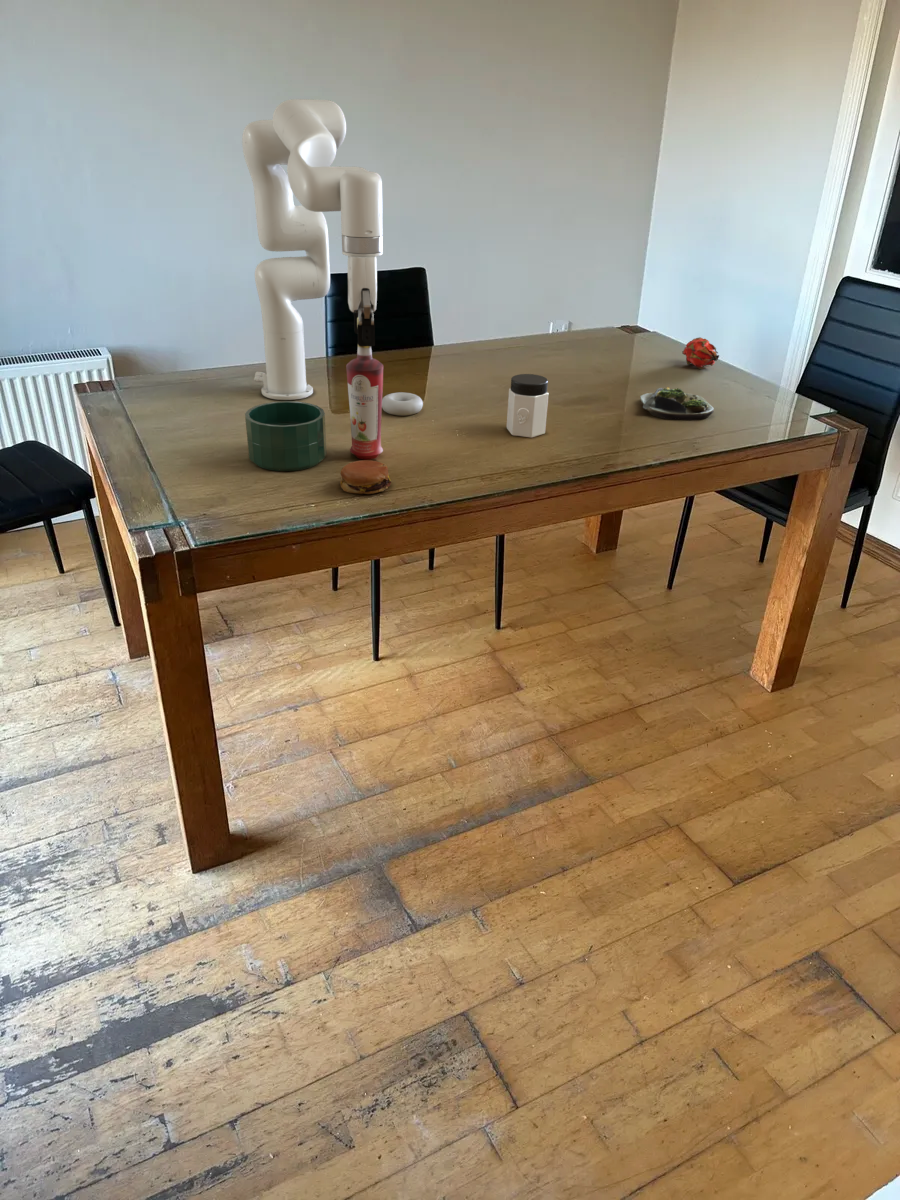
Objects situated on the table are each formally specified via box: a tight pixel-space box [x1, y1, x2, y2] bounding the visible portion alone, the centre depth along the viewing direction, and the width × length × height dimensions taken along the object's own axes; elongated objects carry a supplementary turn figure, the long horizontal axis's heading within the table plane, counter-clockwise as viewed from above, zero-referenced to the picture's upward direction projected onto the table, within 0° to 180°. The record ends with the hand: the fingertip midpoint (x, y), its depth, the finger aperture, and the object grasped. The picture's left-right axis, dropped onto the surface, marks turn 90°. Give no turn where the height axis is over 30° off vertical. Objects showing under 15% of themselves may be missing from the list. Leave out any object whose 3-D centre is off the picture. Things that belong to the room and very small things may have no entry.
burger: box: [339, 459, 392, 495], centre depth 166 cm, size 10×9×5 cm
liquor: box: [345, 317, 384, 461], centre depth 175 cm, size 7×7×28 cm
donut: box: [382, 391, 424, 417], centre depth 207 cm, size 10×4×10 cm
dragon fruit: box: [681, 336, 720, 370], centre depth 248 cm, size 8×8×12 cm
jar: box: [506, 373, 549, 439], centre depth 194 cm, size 9×8×12 cm
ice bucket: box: [244, 400, 327, 472], centre depth 177 cm, size 16×16×10 cm
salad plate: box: [640, 386, 715, 421], centre depth 215 cm, size 19×18×5 cm
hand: (364, 339), depth 169 cm, fingers open, 9 cm apart
